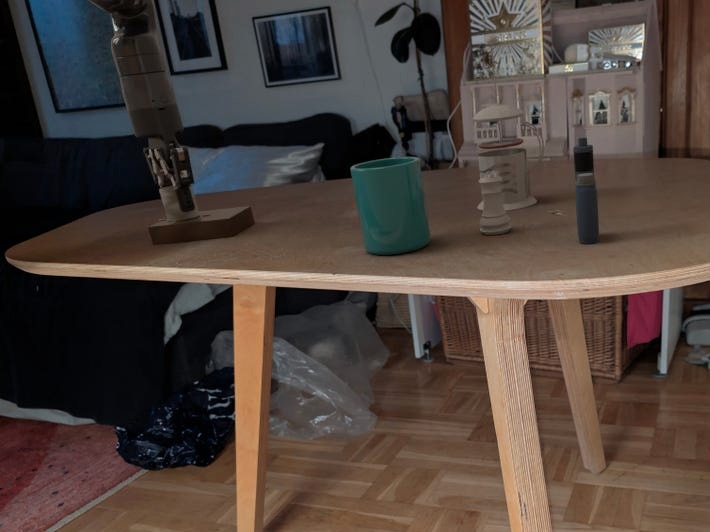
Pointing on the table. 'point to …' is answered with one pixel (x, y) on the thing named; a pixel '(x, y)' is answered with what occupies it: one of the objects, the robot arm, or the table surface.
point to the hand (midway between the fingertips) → (181, 209)
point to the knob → (176, 205)
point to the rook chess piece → (493, 206)
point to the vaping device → (586, 193)
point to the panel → (203, 226)
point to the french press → (507, 153)
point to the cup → (391, 205)
